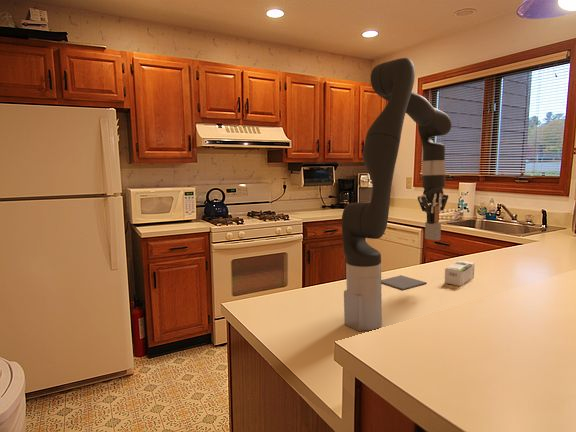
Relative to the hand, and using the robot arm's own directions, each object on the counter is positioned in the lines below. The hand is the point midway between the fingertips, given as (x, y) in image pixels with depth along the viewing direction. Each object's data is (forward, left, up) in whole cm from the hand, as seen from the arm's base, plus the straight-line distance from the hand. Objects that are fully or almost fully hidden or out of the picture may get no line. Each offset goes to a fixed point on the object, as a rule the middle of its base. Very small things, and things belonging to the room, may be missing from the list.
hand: (432, 223), depth 132 cm
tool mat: (-7, +8, -22) cm, 25 cm away
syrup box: (+5, -5, -19) cm, 20 cm away
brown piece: (0, 0, -6) cm, 6 cm away
